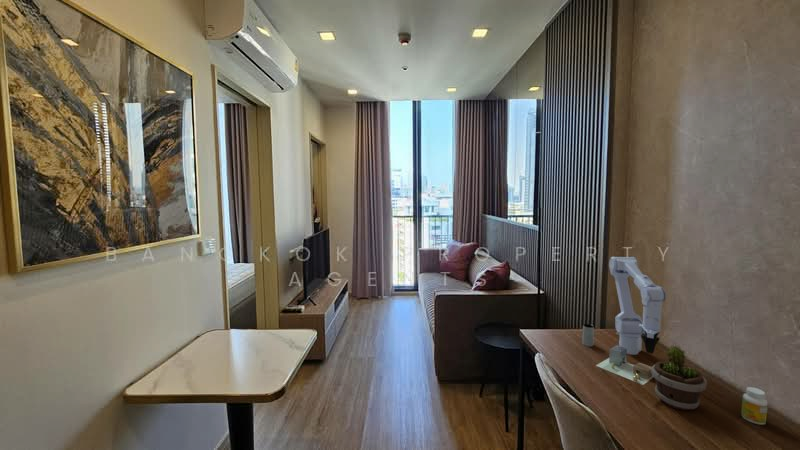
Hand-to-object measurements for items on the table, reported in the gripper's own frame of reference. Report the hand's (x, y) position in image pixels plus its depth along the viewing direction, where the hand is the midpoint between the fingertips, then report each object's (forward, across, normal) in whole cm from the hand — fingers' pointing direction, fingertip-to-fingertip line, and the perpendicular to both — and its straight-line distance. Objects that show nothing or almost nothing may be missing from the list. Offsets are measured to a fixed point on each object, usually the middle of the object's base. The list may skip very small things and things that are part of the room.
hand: (650, 348), depth 132 cm
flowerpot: (+10, +18, +8) cm, 22 cm away
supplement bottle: (+10, +14, +27) cm, 32 cm away
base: (+10, +6, -7) cm, 14 cm away
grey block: (+9, +1, -11) cm, 14 cm away
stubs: (+9, +11, -3) cm, 15 cm away
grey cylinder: (+10, -10, -24) cm, 28 cm away
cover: (+9, +6, -2) cm, 11 cm away
